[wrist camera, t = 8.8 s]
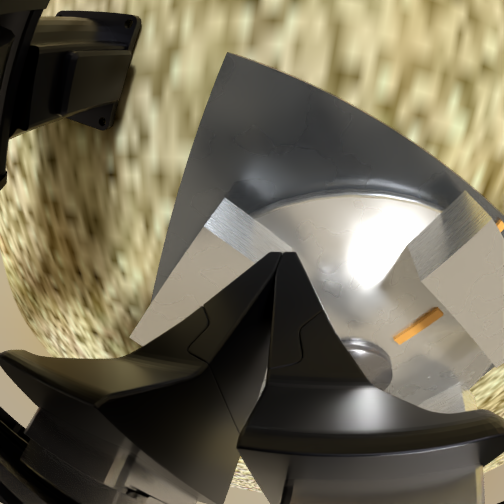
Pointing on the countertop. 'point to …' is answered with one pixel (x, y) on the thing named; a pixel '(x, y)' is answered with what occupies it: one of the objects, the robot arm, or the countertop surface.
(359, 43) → the countertop surface
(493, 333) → the slotted metal disc
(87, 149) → the countertop surface
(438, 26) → the countertop surface
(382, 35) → the countertop surface
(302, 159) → the base plate
